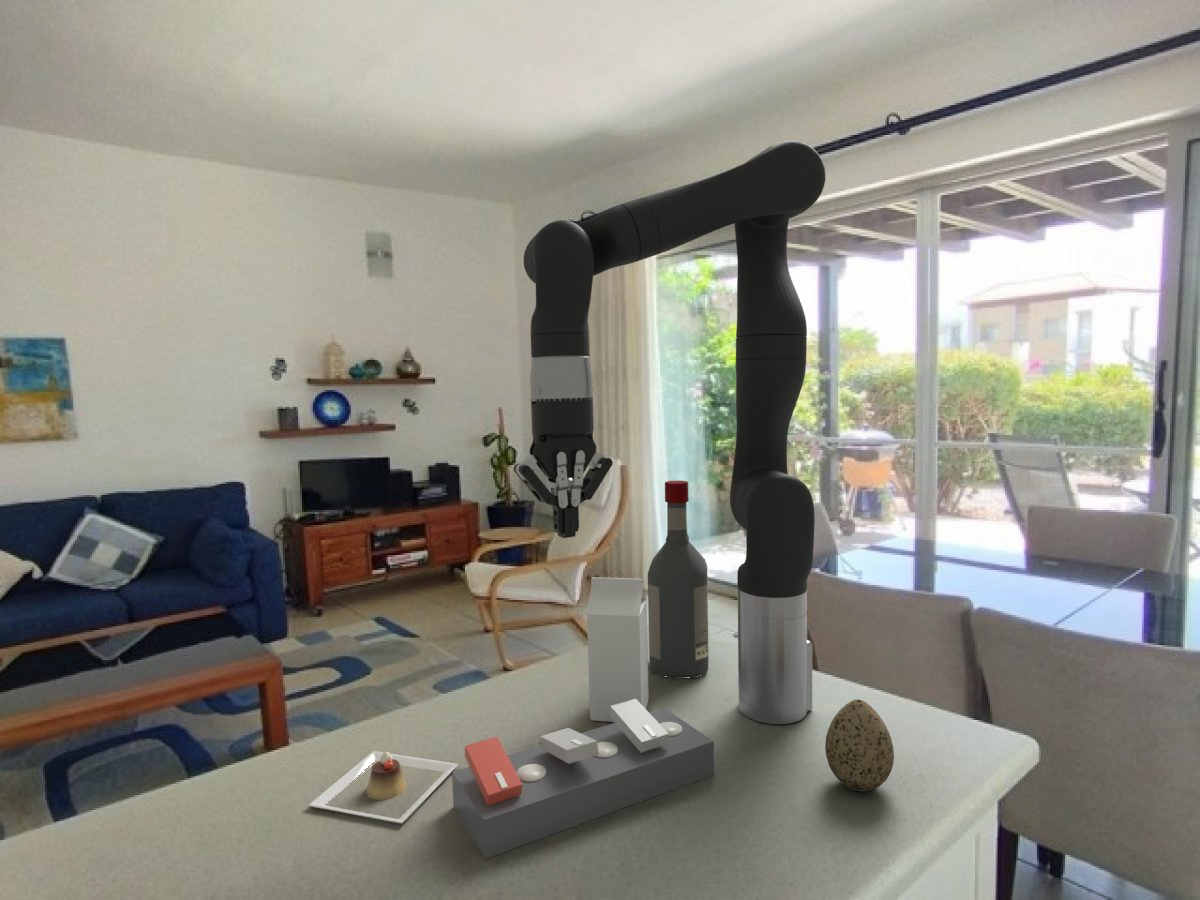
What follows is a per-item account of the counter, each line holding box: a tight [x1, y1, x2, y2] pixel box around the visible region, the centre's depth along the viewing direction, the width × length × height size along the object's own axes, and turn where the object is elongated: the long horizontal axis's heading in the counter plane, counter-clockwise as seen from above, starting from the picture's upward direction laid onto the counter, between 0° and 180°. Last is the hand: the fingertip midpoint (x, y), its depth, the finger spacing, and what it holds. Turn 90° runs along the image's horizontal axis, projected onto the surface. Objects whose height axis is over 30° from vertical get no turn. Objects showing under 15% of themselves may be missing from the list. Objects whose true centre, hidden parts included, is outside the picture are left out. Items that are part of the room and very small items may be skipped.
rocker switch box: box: [451, 707, 715, 860], centre depth 79 cm, size 28×10×4 cm, turn 120°
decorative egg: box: [824, 699, 895, 792], centre depth 78 cm, size 7×7×10 cm
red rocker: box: [464, 736, 522, 806], centre depth 73 cm, size 4×7×2 cm, turn 30°
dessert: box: [307, 750, 459, 824], centre depth 81 cm, size 12×12×5 cm
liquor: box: [647, 480, 710, 679], centre depth 112 cm, size 9×9×30 cm
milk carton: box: [586, 576, 650, 723], centre depth 97 cm, size 7×7×19 cm
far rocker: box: [610, 699, 669, 753], centre depth 82 cm, size 4×7×2 cm, turn 30°
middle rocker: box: [539, 727, 599, 764], centre depth 78 cm, size 4×7×2 cm, turn 30°
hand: (566, 536), depth 87 cm, fingers closed
